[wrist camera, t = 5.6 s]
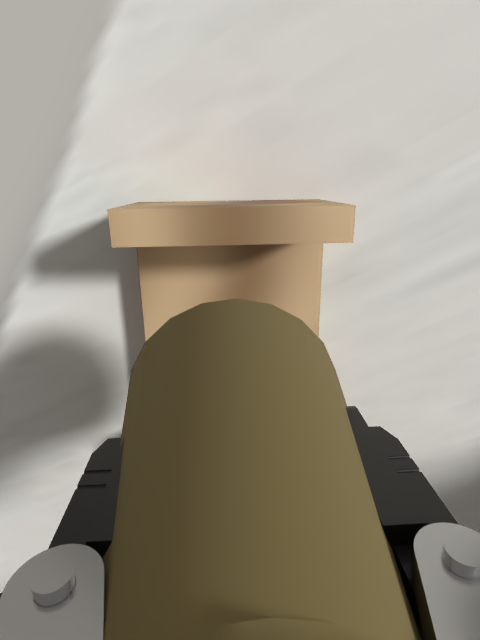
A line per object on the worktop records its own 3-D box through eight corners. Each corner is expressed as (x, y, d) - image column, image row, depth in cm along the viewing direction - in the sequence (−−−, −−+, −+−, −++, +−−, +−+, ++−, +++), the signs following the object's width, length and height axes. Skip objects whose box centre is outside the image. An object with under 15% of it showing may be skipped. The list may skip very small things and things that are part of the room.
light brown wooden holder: (318, 199, 18) (355, 205, 13) (304, 504, 24) (327, 589, 19) (138, 202, 18) (107, 209, 13) (165, 511, 23) (151, 599, 18)
